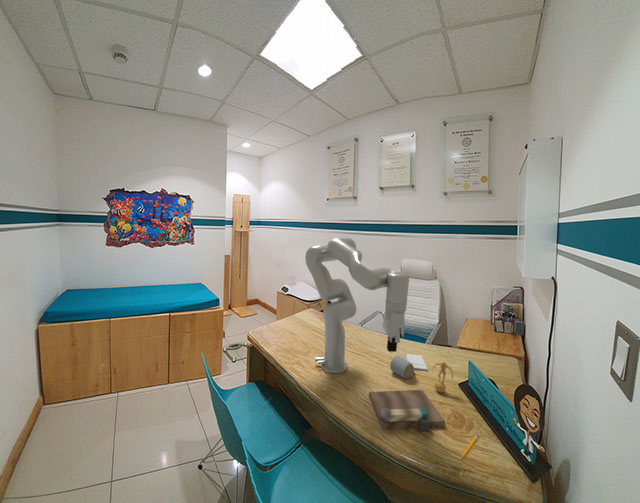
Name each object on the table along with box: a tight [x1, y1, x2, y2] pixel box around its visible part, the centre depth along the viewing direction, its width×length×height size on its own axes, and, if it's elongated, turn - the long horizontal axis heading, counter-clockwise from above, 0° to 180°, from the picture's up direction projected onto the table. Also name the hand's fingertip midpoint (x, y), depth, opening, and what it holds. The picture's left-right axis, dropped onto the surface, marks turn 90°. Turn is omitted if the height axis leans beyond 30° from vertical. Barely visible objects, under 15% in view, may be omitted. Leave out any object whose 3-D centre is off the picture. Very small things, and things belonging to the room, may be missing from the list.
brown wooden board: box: [368, 389, 446, 430], centre depth 92 cm, size 22×16×2 cm
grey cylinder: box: [389, 355, 414, 379], centre depth 114 cm, size 11×8×8 cm
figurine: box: [431, 361, 454, 393], centre depth 103 cm, size 8×6×12 cm
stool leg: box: [381, 408, 428, 422], centre depth 85 cm, size 16×3×3 cm, turn 92°
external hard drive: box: [405, 353, 428, 372], centre depth 124 cm, size 2×8×12 cm
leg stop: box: [417, 419, 431, 433], centre depth 83 cm, size 3×2×4 cm, turn 94°
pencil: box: [460, 434, 479, 460], centre depth 77 cm, size 1×13×1 cm, turn 130°
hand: (391, 350), depth 96 cm, fingers closed
